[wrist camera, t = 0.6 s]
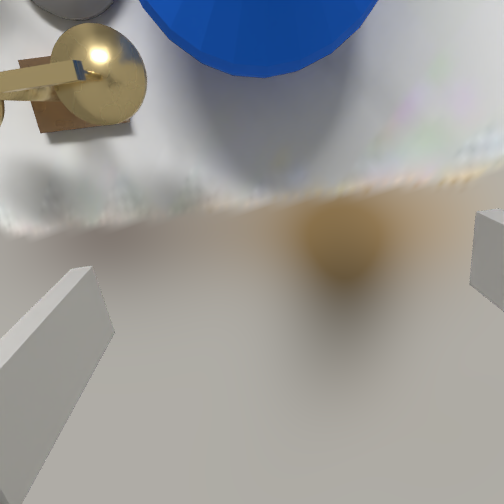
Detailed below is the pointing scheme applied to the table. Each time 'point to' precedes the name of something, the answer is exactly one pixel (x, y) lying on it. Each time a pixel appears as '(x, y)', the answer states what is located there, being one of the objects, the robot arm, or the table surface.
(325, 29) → the vase
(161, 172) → the table surface
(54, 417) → the robot arm
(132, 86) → the balance
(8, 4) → the table surface
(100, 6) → the grey plastic dome
